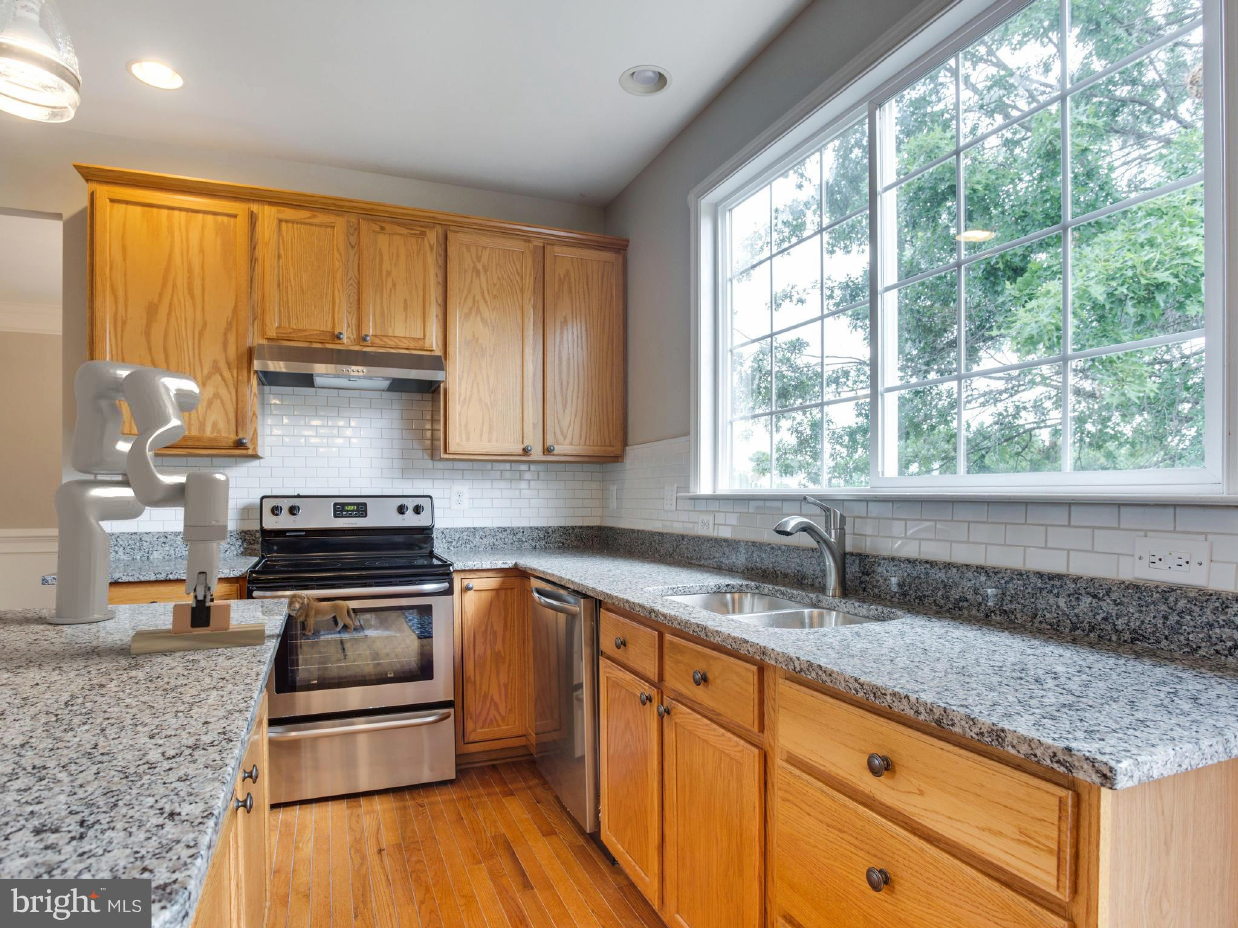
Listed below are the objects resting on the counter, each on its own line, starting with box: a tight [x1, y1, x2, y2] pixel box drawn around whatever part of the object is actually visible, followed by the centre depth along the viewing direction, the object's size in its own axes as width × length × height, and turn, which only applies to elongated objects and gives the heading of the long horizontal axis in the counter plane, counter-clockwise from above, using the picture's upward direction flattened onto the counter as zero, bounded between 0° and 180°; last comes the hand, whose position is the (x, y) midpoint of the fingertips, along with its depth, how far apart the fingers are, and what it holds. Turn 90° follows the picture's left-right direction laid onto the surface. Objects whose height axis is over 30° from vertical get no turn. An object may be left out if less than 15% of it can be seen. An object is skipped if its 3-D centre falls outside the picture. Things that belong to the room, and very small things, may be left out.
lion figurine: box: [286, 592, 360, 636], centre depth 152 cm, size 15×5×9 cm, turn 121°
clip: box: [171, 600, 232, 634], centre depth 138 cm, size 4×10×8 cm, turn 117°
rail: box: [130, 622, 266, 655], centre depth 138 cm, size 7×22×3 cm, turn 117°
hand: (202, 622), depth 138 cm, fingers open, 9 cm apart
